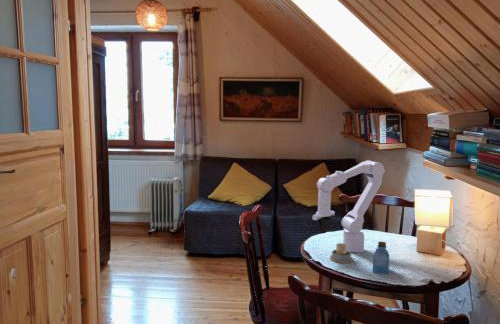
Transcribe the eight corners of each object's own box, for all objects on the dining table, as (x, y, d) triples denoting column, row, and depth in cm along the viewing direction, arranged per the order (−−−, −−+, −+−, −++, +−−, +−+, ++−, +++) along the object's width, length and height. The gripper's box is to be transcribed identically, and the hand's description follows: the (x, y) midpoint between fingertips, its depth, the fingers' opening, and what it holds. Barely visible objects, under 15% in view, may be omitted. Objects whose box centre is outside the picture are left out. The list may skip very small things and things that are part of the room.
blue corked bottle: (388, 268, 172) (390, 241, 171) (388, 274, 166) (390, 246, 165) (373, 266, 174) (374, 239, 173) (372, 272, 168) (374, 244, 167)
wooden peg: (345, 256, 185) (345, 243, 184) (347, 259, 180) (347, 246, 179) (335, 256, 185) (335, 243, 184) (337, 259, 180) (337, 246, 179)
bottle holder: (349, 255, 187) (350, 249, 187) (355, 263, 177) (355, 256, 177) (328, 255, 187) (328, 248, 187) (331, 263, 178) (332, 256, 177)
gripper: (326, 200, 196) (325, 227, 198) (307, 204, 186) (306, 233, 188) (338, 202, 191) (337, 230, 193) (320, 207, 181) (319, 237, 183)
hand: (323, 232), depth 190 cm, fingers closed
